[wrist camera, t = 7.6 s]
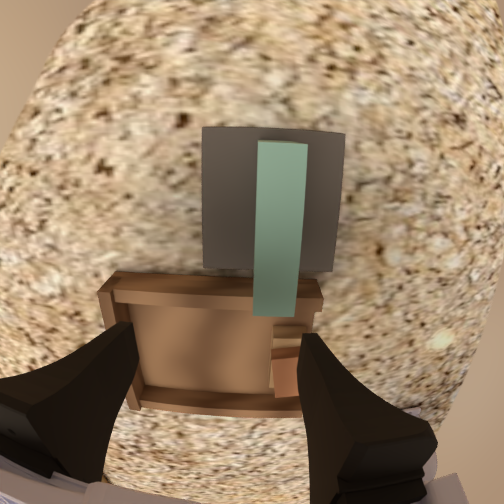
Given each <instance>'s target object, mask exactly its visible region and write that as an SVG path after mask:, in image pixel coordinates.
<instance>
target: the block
mask: <svg viewBox="0 0 504 504" xmlns="http://www.w3.org/2000/svg"><path fill="white" fill-rule="evenodd" d="M307 151H308V144H303V143H297V142H292V141H276V140H258V150H257V183H256V215H255V247H254V282H253V316H267V317H294V313H295V304H296V295H297V285H298V274H299V264H300V253H301V241H302V228H303V215H304V201H305V186H306V170H307Z"/></svg>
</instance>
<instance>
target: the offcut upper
mask: <svg viewBox="0 0 504 504" xmlns="http://www.w3.org/2000/svg"><path fill="white" fill-rule="evenodd" d="M299 351H300V346H298V347H288V348H278V349H271V361H272V371H273V381H274V390H275V398H280V397H291V396H299V393H298V385H297V370H296V369H297V363H298V357H299Z"/></svg>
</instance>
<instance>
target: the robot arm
mask: <svg viewBox="0 0 504 504" xmlns="http://www.w3.org/2000/svg"><path fill="white" fill-rule="evenodd" d="M139 360H140V357H139V352H138V347H137V342H136V337H135V332H134V327H133V322H125V321H119V322H118V323H116V324H114V325H113V326H112V327H110V328H109V329H107V330H106V331H104V332H103V333H102V334H100V335H99V336H97V337H96V338H94V339H93V340H91V341H90V342H89V343H87V344H85V345H84V346H82V347H81V348H79V349H77V350H76V351H74V352H73V353H71V354H69V355H67V356H66V357H64V358H62V359H60V360H58V361H56V362H54V363H52V364H49V365H47V366H44V367H42V368H39V369H36V370H34V371H31V372H27V373H24V374H20V375H16V376H12V377H7V378H1V379H0V504H201V503H198V502H194V501H189V500H185V499H179V498H173V497H167V496H161V495H156V494H151V493H146V492H141V491H137V490H133V489H129V488H124V487H121V486H117V485H113V484H109V483H104V482H101V481H102V474H103V468H104V463H105V457H106V453H107V449H108V444H109V440H110V437H111V433H112V430H113V426H114V423H115V420H116V417H117V415H118V412H119V410H120V408H121V406H122V403H123V401H124V399H125V397H126V395H127V393H128V390H129V388H130V386H131V384H132V381H133V379H134V377H135V373H136V370H137V367H138V363H139ZM296 370H297V385H298V393H299V398H300V403H301V408H302V413H303V418H304V423H305V428H306V434H307V442H308V457H309V479H310V504H469V502H468V500H467V497H466V495H465V492H464V490H463V487H462V485H461V483H460V480H459V478H458V475H457V473H452V474H449V475H446V476H443V477H440V478H437V479H434V477H435V474H436V471H437V456H436V452H435V450H436V448H437V445H438V442H437V439H436V437H435V435H434V432H433V430H432V428H431V426H430V424H429V423H428V421H425V420H423V419H421V418H420V415H419V414H420V412H421V408H420V407H415V408H409V409H403V410H400V409H399V408H397V407H395V406H393V405H391V404H390V403H388V402H386V401H385V400H383V399H382V398H380V397H379V396H377V395H376V394H374V393H373V392H372V391H370V390H369V389H368V388H367V387H365V386H364V385H363V384H362V383H360V382H359V381H358V380H357V379H356V378H355V377H354V376H353V375H352V374H351V373H350V372H349V371H348V370H347V369H346V368H345V367H344V366H343V365H342V364H341V363H340V361H339V360H338V359H337V358H336V357H335V356H334V354H333V353H332V352H331V351H330V349H329V348H328V347H327V346H326V344H325V343H324V342H323V340H322V339H321V338H320V336H319V335H318V334H317V333H302V339H301V345H300V351H299V357H298V363H297V369H296ZM433 479H434V480H433Z"/></svg>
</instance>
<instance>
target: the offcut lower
mask: <svg viewBox="0 0 504 504" xmlns="http://www.w3.org/2000/svg"><path fill="white" fill-rule="evenodd" d="M302 333H307V329H306V326H272V338H271V349H278V348H288V347H298V346H300V345H301V339H302ZM269 388H274V381H273V371H272V361H271V351H270V363H269Z"/></svg>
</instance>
